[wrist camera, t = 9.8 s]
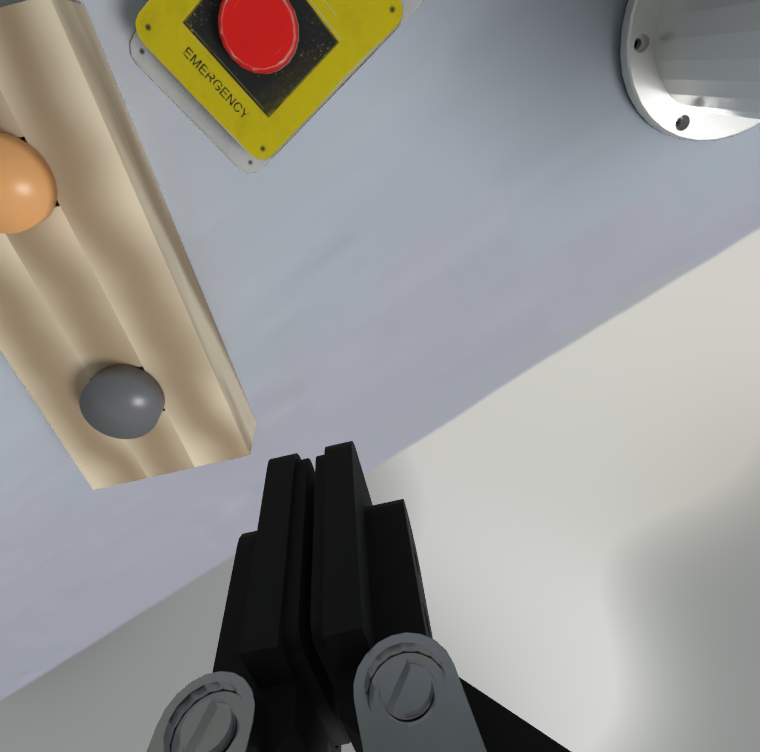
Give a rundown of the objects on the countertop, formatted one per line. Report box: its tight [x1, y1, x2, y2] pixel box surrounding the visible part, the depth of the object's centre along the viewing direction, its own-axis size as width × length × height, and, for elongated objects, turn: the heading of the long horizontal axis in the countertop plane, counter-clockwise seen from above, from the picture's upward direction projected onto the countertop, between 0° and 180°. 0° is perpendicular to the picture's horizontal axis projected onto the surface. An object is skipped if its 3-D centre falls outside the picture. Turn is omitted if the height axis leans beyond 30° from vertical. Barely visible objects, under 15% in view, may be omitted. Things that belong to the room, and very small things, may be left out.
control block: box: [0, 0, 256, 490], centre depth 33 cm, size 12×28×4 cm, turn 12°
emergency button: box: [130, 0, 424, 173], centre depth 27 cm, size 9×4×15 cm
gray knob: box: [79, 365, 165, 439], centre depth 36 cm, size 5×5×6 cm
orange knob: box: [0, 132, 57, 234], centre depth 29 cm, size 5×5×6 cm
